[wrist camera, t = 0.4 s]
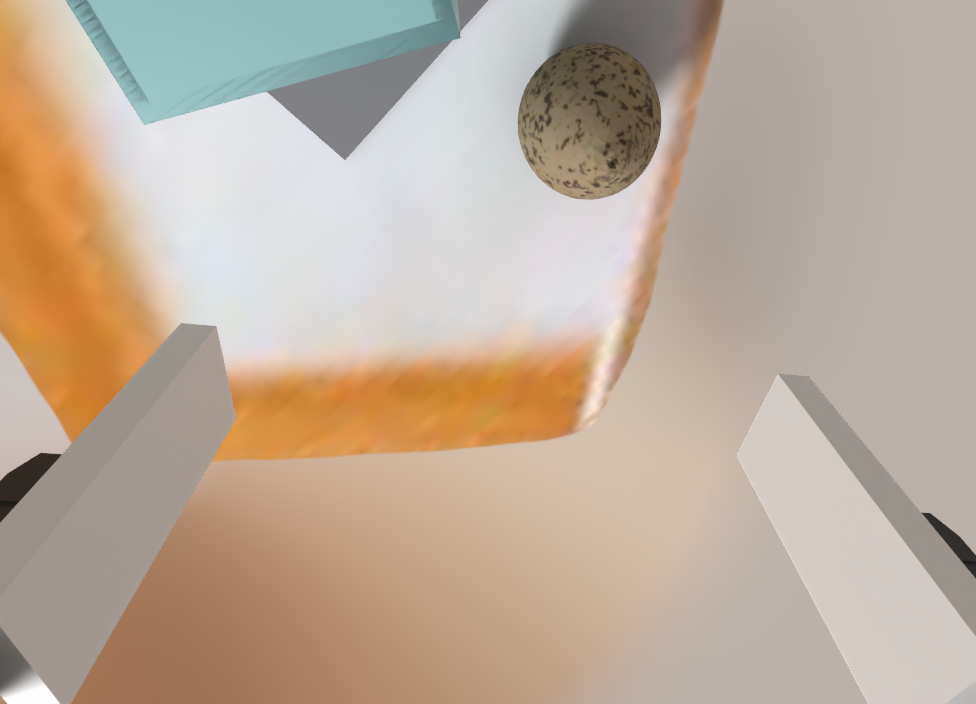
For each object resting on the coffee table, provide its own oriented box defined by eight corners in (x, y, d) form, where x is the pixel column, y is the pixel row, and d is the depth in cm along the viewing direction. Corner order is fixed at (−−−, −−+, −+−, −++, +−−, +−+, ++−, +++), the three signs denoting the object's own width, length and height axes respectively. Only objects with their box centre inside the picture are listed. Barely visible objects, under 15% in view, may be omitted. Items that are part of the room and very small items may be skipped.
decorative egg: (649, 33, 29) (719, 81, 21) (619, 163, 34) (668, 241, 26) (518, 23, 28) (542, 69, 21) (505, 157, 33) (522, 235, 25)
